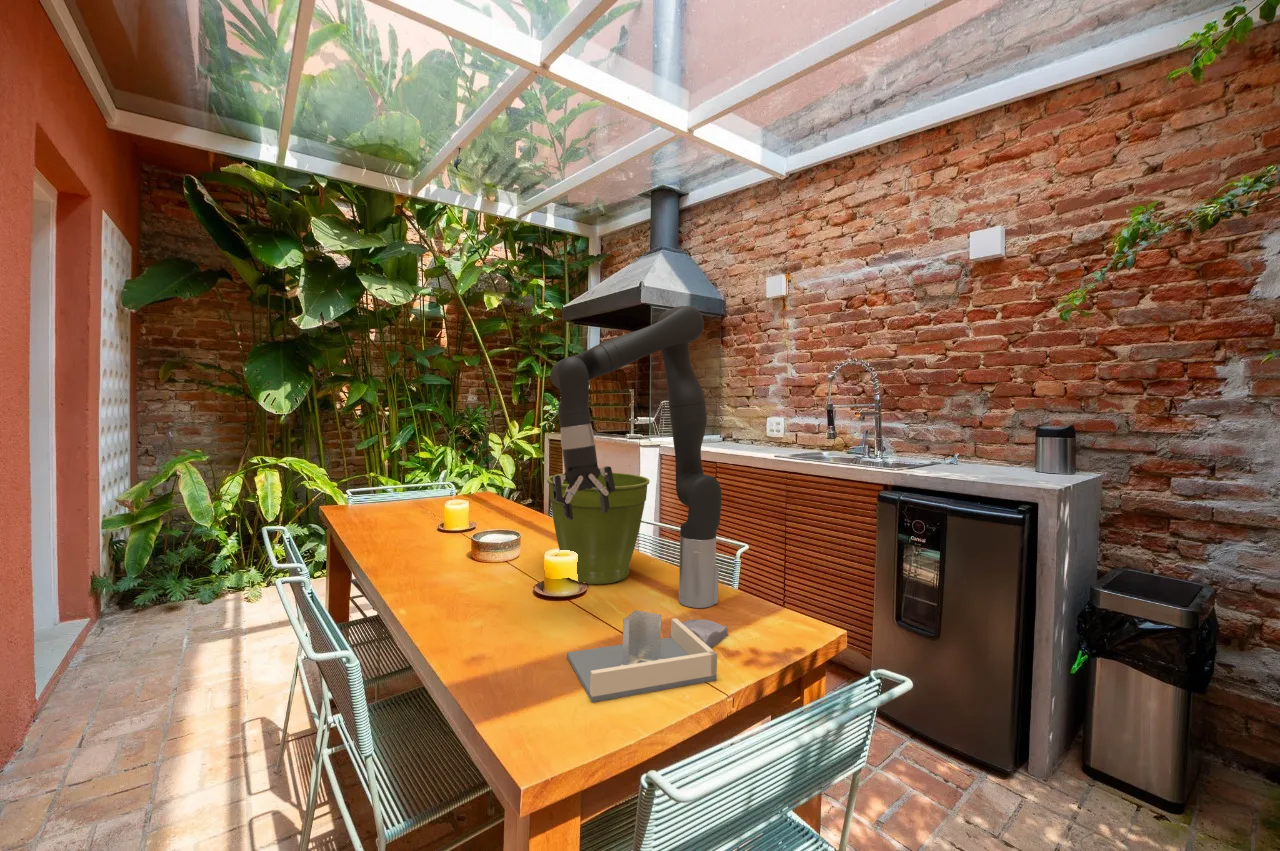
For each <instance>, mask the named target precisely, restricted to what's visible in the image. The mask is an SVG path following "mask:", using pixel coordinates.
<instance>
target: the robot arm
mask: <svg viewBox="0 0 1280 851" xmlns="http://www.w3.org/2000/svg"><path fill="white" fill-rule="evenodd" d="M704 327H705V322H704V316H703V315H702V313H701V312H700V311H699V310H698V309H697V308H695V307H693V306H691V305H679V306H675V307H673V308H670V309H667V310H665V311H663V312H662V313H661V314H660V316H659V317H658V320H657V322H655V323H653V324H651V325H648V326H646V327H643V328H641V329H637V330H634V331H631V332H628V333H625V334H622V335H619V336H616V337H613V338H611V339H609V340H606V341H603V342H601V343H599V344H596V345H595V346H593V347H590V348H589V349H587V350H585V351H584V352H580V353H578V354H575V355H573V356H567V357H565V358H562V359H561V360H559V361H557V362H556V363H555V364H554V365H553V366H552V367H551V370H550V374H549V375H550V376H549V377H550V381H551V383H552V385H553V386H555V387H556V388H557V389H559V392H560V393H559V395H560V402H559V405H558V408H557V412H558V420H559V426H560V446H561V451H562V457H563V458H562V459H563V464H564V473H565V474H564V473H563V474H564V475H557V474H553V475H551V476H552V484H553V497H554V501H556V502H561V503H562V504H563V509H564V516H565V517H566V518H567V519H568V520H573V513H572V505H571V503H570V501H571V499H572V497H573V495H575V493H576V491H577V490H578V491H581V490H584V489H592V488H594V489H596V490H597V491H598V492H599V493H600V494H601V496H600V503H601V511H602V512H604V513H605V512H608V509H609V499H608V495H609V494H610V493H611V492H614V491H615V485H614V479H613V474H612V473H613V469H612V467H611V466H609V465H607V466H606V465H605V466H602V467H599V466H598V456H597V450H596V443H595V441H596V440H595V435H594V430H593V427H592V422H591V414H590V408H589V398H590V397H589V395H590V394H589V393H590V390H589V389H590V380H593V379H594V378H597V377H601V376H604V375H608V374H610V373H612V372H614V371H616V370H617V371H618V370H619V369H621V368H623V367H625V366H627V365H630V364H632V363H634V362H636V361H638V360H640V359H643V358H644V357H647V356H649V355H651V354H653V353H656V352H658V351H661V355H662V361H663V365H664V371H665V372H664V373H665V381H666V389H667V398H668V399H667V400H668V409H669V417H670V423H671V431H672V439H673V440H672V441H673V448H674V458H675V460H674V461H675V491H676V495H677V498H678V500H679V502H680V503H681V504H682V505H684V506H686V507H688V508H687V509H688V510H687V519H686V521H685V522H683V523H681V525H680V528H679V529H680V530H679V532H680V533H679V536H680V537H679V571H678V572H679V575H678V576H679V577H678V580H679V581H678V602H679V603H680V604H681V605H683V606H685V607H687V608H695V609H702V608H703V609H705V608H709V607H712V606H714V605H715V604H716V605H717V604H718V603H719V572H720V571H719V570H720V568H719V566H718V565H717V564H716V562H717V532H718V529H719V526H720V523H721V512H722V498H723V497H722V495H723V494H722V488H721V485H720V483H719V481H718V480H717V478H715V477H714V476H712V475H709V474H706V473H704V470H703V464H702V463H703V462H702V451H701V450H702V444H703V441H704V437H705V434H706V429H707V425H708V424H707V423H708V415H707V413H708V412H707V405H706V400H705V394H704V391H703V388H702V386H701V384H700V382H699V380H698V378H697V375H696V374H695V372H694V369H693V366H692V363H691V358H690V350H689V349H690V348H689V344H690V343H692V342H695V341H696V340H697V339H699V337H701V335H702V333H703V331H704ZM600 473H601V474H602V476H604V479H605V484H606V488H604V487H603V485H602V484H601V483H600V482H599V481H598V480H597V479H598V477H599V475H600ZM564 480H566V481H567V482H568V483H569V485H568V486H567V488H566V490H565V494H564V496H563V497H562V489H561V485H562V484H563V481H564Z"/></svg>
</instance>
